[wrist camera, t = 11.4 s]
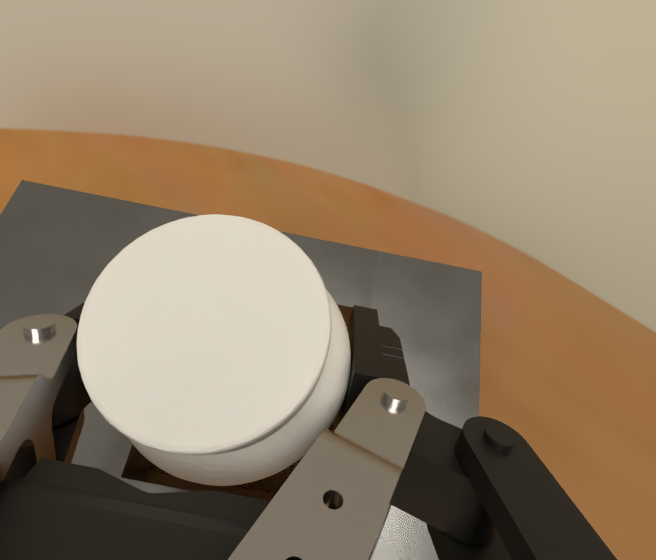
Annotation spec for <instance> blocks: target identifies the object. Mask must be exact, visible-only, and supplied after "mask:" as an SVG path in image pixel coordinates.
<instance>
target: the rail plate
mask: <svg viewBox="0 0 656 560" xmlns="http://www.w3.org/2000/svg"><path fill="white" fill-rule="evenodd" d="M192 216H199V215H194V214H189V213H184V212H179V211H174V210H169V209H164V208H159V207H154V206H149V205H144V204H139V203H134V202H129V201H124V200H119V199H114V198H109V197H104V196H99V195H94V194H89V193H84V192H79V191H74V190H69V189H64V188H59V187H54V186H49V185H44V184H39V183H34V182H29V181H24V180H22V181H21V182H20V184H19V186H18V187H17V189H16V191H15V192H14V194H13V196H12V197H11V199H10V201H9V202H8V204H7V205H6V207H5V209H4V210H3V212H2V214H1V215H0V330H1V329H2V328H3V327H4V326H6V325H7V324H9V323H11V322H13V321H15V320H18V319H21V318H24V317H28V316H33V315H41V314H58V315H65V314H66V313H68V312H70V311H71V310H73V309H74V308H76V307H77V306H79V305H81V304H82V303H84V302H85V301H86V299H87V297H88V295H89V293H90V291H91V289H92V287H93V285H94V283H95V281H96V279H97V278H98V277H99V275H100V274H101V273H102V271H103V270H104V269H105V267H106V266H107V265H108V264H109V263H110V262H111V261H112V259H113V258H114V257H116V256H117V255H118V254H119V253H120V252H121V251H122V250H123V249H124V248H125V247H126V246H128V245H129V244H130V243H132V242H133V241H134V240H136V239H137V238H139V237H140V236H142V235H144V234H145V233H147V232H149V231H150V230H153V229H155V228H157V227H159V226H162V225H164V224H167V223H169V222H173V221H176V220H179V219H183V218H187V217H192ZM279 232H280V231H279ZM281 233H282V234H284V235H285V236H287V237H288V238H290V239H291V240H292V241H293V242H294V243H295V244H297V245H298V246H299V247H300V248H301V249H302V250H303V252H304V253H305V254H306V255H307V256H308V257H309V258H310V259H311V261H312V262H313V264H314V265H315V267H316V268H317V270H318V272H319V274H320V276H321V278H322V280H323V282H324V285H325V288H326V289H327V291H328V292H329V293H330V295H331V296H332V298H333V299H334V301H335V302H336V304H337V306H338V308H339V310H340V312H341V314H342V316H343V319H344V322H345V324H346V326H348V325H349V321H350V317H351V312H352V309H353V306H354V305H356V306H362V307H367V308H372V309H377V312H378V320H379V326H383V327H389V328H392V329H393V331H394V332H395V333H396V334H397V335H398V336H399V338H400V341H401V345H402V350H403V355H404V359H405V364H406V369H407V373H408V378H409V383H410V386H411V387H412V388H414V389H415V390H416V391H417V392H418V393H419V394H420V395H421V396H422V398H423V399H424V401H425V405H426V410H425V411H427V412H428V413H429V414H431V415H433V416H434V417H436V418H438V419H440V420H442V421H445V422H447V423H449V424H452V425H454V426H456V427H459V428H461V429H462V427H463V425H464V423H465V421H466V420H468V419H469V418H472V417H478V416H479V382H480V332H481V282H482V272H480V271H475V270H470V269H465V268H460V267H455V266H450V265H445V264H440V263H435V262H430V261H425V260H420V259H415V258H410V257H405V256H400V255H395V254H390V253H385V252H380V251H375V250H370V249H365V248H360V247H355V246H350V245H345V244H340V243H335V242H330V241H325V240H320V239H315V238H310V237H305V236H300V235H295V234H290V233H285V232H281ZM84 413H85V421H84V425H83V428H82V431H81V434H80V437H79V440H78V443H77V447H76V450H75V453H74V456H73V459H72V462H71V463H73V464H78V465H83V466H88V467H94V468H99V469H100V470H102V471H104V472H106V473H108V474H110V475H112V476H114V477H116V478H118V479H120V480H122V481H124V482H126V483H128V484H130V485H132V486H134V487H136V488H138V489H140V490H142V491H145V492H148V493H169V492H190V491H211V490H214V491H219V492H225V493H230V494H235V495H240V496H246V497H251V498H256V499H261V500H267V501H269V503H270V502H271V500H272V499H273V498H274V496H275V495H276V494H274V493H269V492H263V491H258V490H253V489H248V488H243V487H237V486H232V485H231V486H214V485H205V484H200V483H195V482H190V481H187V480H184V479H181V478H178V477H176V476H173V475H171V474H169V473H164V472H159V471H154V470H150V469H151V466H152V462H150V461H149V460H148V459H147V458H145V457H144V456H143V455H142V454H141V453H140V452H139V451H138V450H137V448H136V447H135V446H134V445H133V444H132V442H131V441H130V440H129V438H128V437H126V436H125V435H124V434H122V433H121V432H120V431H118V430H117V429H116V428H114V427H113V426H112V425H111V424H110V423H109V422H108V421H107V420H106V419H105V418H104V417H103V416H102V414H101V413H100V412H99V410H98V409H97V408H96V406H95V405H94V403H92V402H90V403H89V404H88V405H87V406H86V407H85V408H84ZM371 560H439V559H438V556H437V554H436V551H435V548H434V545H433V543H432V540H431V537H430V534H429V532H428V528H427V524H426V523H425V522H423V521H421V520H419V519H417V518H416V517H414V516H412V515H410V514H408V513H406V512H404V511H402V510H400V509H398V508H396V507H394V506H391V508H390V511H389V514H388V516H387V519H386V522H385V524H384V527H383V530H382V532H381V535H380V538H379V540H378V543H377V546H376V548H375V551H374V554H373V556H372V559H371Z"/></svg>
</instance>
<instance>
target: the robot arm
mask: <svg viewBox="0 0 656 560" xmlns="http://www.w3.org/2000/svg"><path fill="white" fill-rule="evenodd" d="M84 304H85V302H84V303H82V304H81V305H79V306H77V307H76V308H74V309H73V310H71V311H70V312H68V313H66V314H65V315H58V314H41V315H33V316H28V317H24V318H21V319H18V320H15V321H13V322H11V323H9V324H7V325H6V326H4V327H3V328H2V329H1V330H0V560H371V559H372V556H373V554H374V551H375V548H376V546H377V543H378V540H379V538H380V535H381V532H382V530H383V527H384V524H385V522H386V519H387V516H388V514H389V511H390V508H391V506H394V507H396V508H398V509H400V510H402V511H404V512H406V513H408V514H410V515H412V516H414V517H416V518H417V519H419V520H421V521H423V522H425V523H426V524H427V528H428V532H429V534H430V537H431V540H432V543H433V545H434V548H435V551H436V554H437V556H438V559H439V560H617V559H616V558H615V556H614V555H613V554H612V552H611V551H610V550H609V549H608V547H607V546H606V545H605V543H604V542H603V541H602V539H601V538H600V537H599V535H598V534H597V533H596V532H595V530H594V529H593V528H592V526H591V525H590V524H589V522H588V521H587V520H586V519H585V517H584V516H583V515H582V513H581V512H580V511H579V509H578V508H577V507H576V505H575V504H574V503H573V502H572V500H571V499H570V498H569V496H568V495H567V494H566V492H565V491H564V490H563V488H562V487H561V486H560V485H559V483H558V482H557V481H556V479H555V478H554V477H553V475H552V474H551V473H550V471H549V470H548V469H547V468H546V466H545V465H544V464H543V462H542V461H541V460H540V458H539V457H538V456H537V455H536V453H535V452H534V451H533V449H532V448H531V447H530V445H529V444H528V443H527V442H526V440H525V439H524V438H523V437H522V436H521V435H520V434H519V433H517V432H516V431H515V430H514V429H512V428H511V427H509V426H507V425H506V424H504V423H502V422H500V421H497V420H495V419H492V418H488V417H481V416H478V417H472V418H469V419H468V420H466V421H465V423H464V425H463V427H462V429H461V428H459V427H456V426H454V425H452V424H449V423H447V422H445V421H442V420H440V419H438V418H436V417H434V416H433V415H431V414H429V413H428V412H427V411H425V410H426V405H425V401H424V399H423V398H422V396H421V395H420V394H419V393H418V392H417V391H416V390H415V389H414V388H412V387H411V386H410V383H409V378H408V373H407V369H406V364H405V359H404V355H403V350H402V345H401V341H400V338H399V336H398V335H397V334H396V333H395V332H394V331H393V329H392V328H389V327H383V326H379V320H378V312H377V309H372V308H367V307H362V306H356V305H354V306H353V309H352V312H351V317H350V321H349V325H348V330H347V331H348V336H349V341H350V352H351V368H350V377H349V382H348V387H347V390H346V394H345V397H344V400H343V403H342V405H341V407H340V410H339V412H338V414H337V423H336V429H335V431H334V432H333V431H331V430H329V429H325V430H324V431H323V432H322V433H321V434H320V435H319V437H318V438H317V439H316V441H315V442H314V443H313V445H312V446H311V447H310V449H309V450H308V451H307V453H306V454H305V456H304V457H303V458H302V460H301V461H300V462H299V464H298V465H297V466H296V468H295V469H294V470H293V472H292V473H291V474H290V476H289V477H288V479H287V480H286V481H285V483H284V484H283V485H282V487H281V488H280V489H279V491H278V492H277V493H276V495H275V496H274V498H273V499H272V500H271V502H270V503H269V501H267V500H261V499H256V498H251V497H246V496H240V495H235V494H230V493H225V492H219V491H214V490H211V491H190V492H169V493H148V492H145V491H142V490H140V489H138V488H136V487H134V486H132V485H130V484H128V483H126V482H124V481H122V480H120V479H118V478H116V477H114V476H112V475H110V474H108V473H106V472H104V471H102V470H100V469H99V468H94V467H88V466H83V465H78V464H73V463H71V462H72V459H73V456H74V453H75V450H76V447H77V443H78V440H79V437H80V434H81V431H82V428H83V425H84V421H85V413H84V408H85V407H86V406H87V405H88V404H89V403H90V402H92V400H91V399H90V397H89V394H88V392H87V390H86V388H85V386H84V383H83V380H82V377H81V373H80V369H79V366H78V359H77V330H78V325H79V321H80V316H81V313H82V310H83V307H84ZM92 403H93V402H92Z"/></svg>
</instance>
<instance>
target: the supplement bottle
mask: <svg viewBox="0 0 656 560" xmlns="http://www.w3.org/2000/svg"><path fill="white" fill-rule="evenodd" d="M77 359H78V366H79V369H80V373H81V377H82V380H83V383H84V386H85V388H86V390H87V392H88V394H89V397H90V399H91V400H92V402H93V403H94V405H95V406H96V408H97V409H98V410H99V412H100V413H101V414H102V416H103V417H104V418H105V419H106V420H107V421H108V422H109V423H110V424H111V425H112V426H113V427H114V428H116V429H117V430H118V431H120V432H121V433H122V434H124V435H125V436H126V437H128V438H129V440H130V441H131V442H132V444H133V445H134V446H135V447H136V448H137V450H138V451H139V452H140V453H141V454H142V455H143V456H144V457H145V458H147V459H148V460H149V461H150V462H152V463H153V464H154V465H156V466H157V467H159V468H160V469H162V470H164V471H166V472H167V473H169V474H171V475H173V476H176V477H178V478H181V479H184V480H187V481H190V482H195V483H200V484H205V485H214V486H231V485H239V484H246V483H250V482H253V481H257V480H260V479H263V478H266V477H269V476H271V475H274V474H276V473H278V472H280V471H282V470H284V469H285V468H287V467H289V466H290V465H292V464H293V463H295V462H296V461H298V460H299V459H300V458H302V457H303V456H304V455H305V454H306V453H307V451H308V450H309V449H310V447H311V446H312V445H313V443H314V442H315V441H316V439H317V438H318V437H319V435H320V434H321V433H322V432H323V431H324V430H325V429H329V427H330V426H331V425H332V423H333V421H334V419H335V418H336V416H337V414H338V412H339V410H340V407H341V405H342V403H343V400H344V397H345V394H346V390H347V387H348V382H349V377H350V368H351V352H350V341H349V336H348V331H347V328H346V324H345V322H344V319H343V316H342V314H341V312H340V310H339V308H338V306H337V304H336V302H335V301H334V299H333V298H332V296H331V295H330V293H329V292H328V291H327V289H326V288H325V285H324V282H323V280H322V278H321V276H320V274H319V272H318V270H317V268H316V267H315V265H314V264H313V262H312V261H311V259H310V258H309V257H308V256H307V255H306V254H305V253H304V252H303V250H302V249H301V248H300V247H299V246H298V245H297V244H295V243H294V242H293V241H292V240H291V239H290V238H288V237H287V236H285V235H284V234H282V233H281V232H279V231H277V230H275V229H274V228H272V227H270V226H268V225H265V224H263V223H261V222H258V221H254V220H251V219H248V218H243V217H238V216H230V215H220V214H211V215H200V216H192V217H187V218H183V219H179V220H176V221H173V222H169V223H167V224H164V225H162V226H159V227H157V228H155V229H153V230H150V231H149V232H147V233H145V234H144V235H142V236H140V237H139V238H137V239H136V240H134V241H133V242H132V243H130V244H129V245H128V246H126V247H125V248H124V249H123V250H122V251H121V252H120V253H119V254H118V255H117V256H116V257H114V258H113V259H112V261H111V262H110V263H109V264H108V265H107V266H106V267H105V269H104V270H103V271H102V273H101V274H100V275H99V277H98V278H97V279H96V281H95V283H94V285H93V287H92V289H91V291H90V293H89V295H88V297H87V299H86V301H85V304H84V307H83V310H82V313H81V316H80V321H79V325H78V330H77Z"/></svg>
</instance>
